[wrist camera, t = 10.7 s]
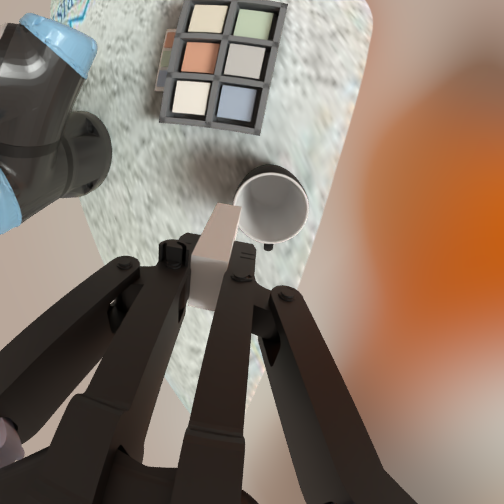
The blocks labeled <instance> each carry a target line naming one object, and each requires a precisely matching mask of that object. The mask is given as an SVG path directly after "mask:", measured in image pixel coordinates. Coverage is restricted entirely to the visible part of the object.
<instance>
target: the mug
mask: <svg viewBox="0 0 504 504" xmlns="http://www.w3.org/2000/svg"><path fill="white" fill-rule="evenodd" d="M233 205H234V206H240V207H242V208H241V214H240V219H239V225H238V227H239V228H240V230H241V231H242V232H243V233H244V234H245V235H246V236H248V237H249V238H251V239H253V240H255V241H257V242H261V243H264V250H266V251H271V250H272V249H273V244H276V243H281V242H284V241H287V240H289V239H291V238H293V237H294V236H295V235H297V234H298V233H299V232H300V231H301V229H302V228H303V226H304V225H305V223H306V221H307V218H308V213H309V203H308V198H307V195H306V192H305V190H304V188H303V187H302V185H301V184H300V182H299V181H298V180H297V178H296V177H295V176H294V175H293V174H292V173H290V172H289V171H288V170H286V169H284V168H282V167H280V166H277V165H263V166H260V167H258V168H256V169H254V170H253V171H251V172H250V173H249V174H248V175H247V176H246V177H245V178H244V179H243V181H242V182H241V184H240V185H239V187H238V189H237V191H236V193H235V196H234V200H233Z"/></svg>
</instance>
